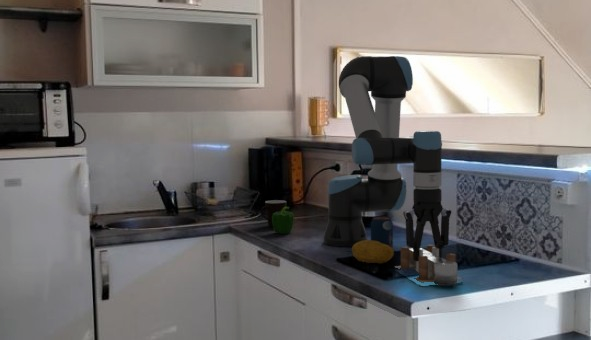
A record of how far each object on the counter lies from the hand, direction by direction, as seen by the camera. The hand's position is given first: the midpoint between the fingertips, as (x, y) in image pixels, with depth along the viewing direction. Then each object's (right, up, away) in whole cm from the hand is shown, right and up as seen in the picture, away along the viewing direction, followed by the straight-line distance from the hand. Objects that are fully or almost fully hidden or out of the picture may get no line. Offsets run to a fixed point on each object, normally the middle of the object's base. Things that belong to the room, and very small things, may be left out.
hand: (427, 271), depth 177 cm
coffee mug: (-46, +5, +82) cm, 94 cm away
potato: (-13, 0, +17) cm, 21 cm away
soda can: (-9, +1, +28) cm, 29 cm away
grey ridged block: (+1, 0, -2) cm, 2 cm away
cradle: (0, -1, 0) cm, 2 cm away
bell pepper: (-41, +4, +67) cm, 79 cm away
